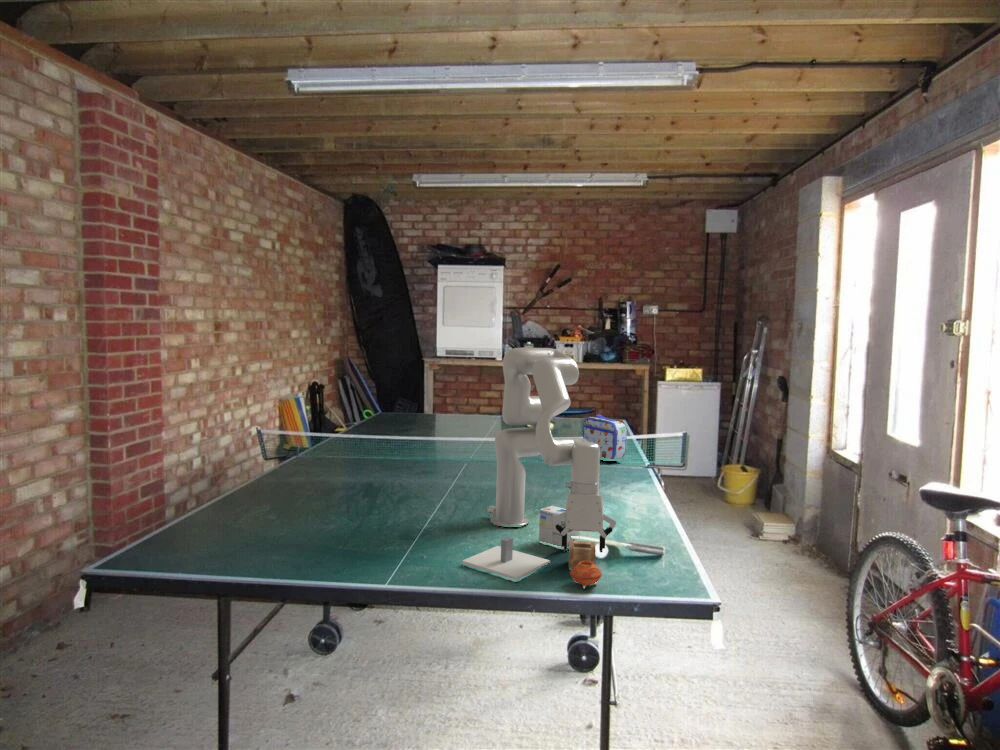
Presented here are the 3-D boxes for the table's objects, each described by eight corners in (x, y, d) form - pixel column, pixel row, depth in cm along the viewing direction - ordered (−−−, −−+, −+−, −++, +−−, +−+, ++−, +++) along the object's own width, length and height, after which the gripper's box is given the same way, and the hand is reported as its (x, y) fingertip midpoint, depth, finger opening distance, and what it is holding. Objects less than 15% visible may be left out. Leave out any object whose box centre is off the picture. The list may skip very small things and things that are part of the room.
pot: (604, 592, 160) (598, 566, 160) (572, 596, 162) (567, 570, 161) (604, 579, 168) (599, 554, 168) (574, 583, 170) (569, 558, 169)
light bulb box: (579, 547, 194) (581, 511, 193) (566, 552, 189) (567, 516, 188) (551, 538, 201) (552, 504, 200) (537, 543, 196) (538, 508, 195)
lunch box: (577, 455, 335) (578, 412, 333) (592, 453, 340) (594, 412, 339) (611, 465, 311) (613, 420, 310) (628, 464, 317) (630, 419, 315)
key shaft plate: (462, 565, 176) (462, 538, 175) (497, 550, 189) (498, 525, 188) (516, 583, 165) (517, 554, 165) (549, 565, 178) (550, 539, 177)
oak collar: (568, 570, 175) (569, 549, 174) (568, 561, 182) (569, 540, 181) (594, 572, 174) (595, 550, 173) (593, 563, 181) (594, 542, 180)
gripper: (552, 489, 173) (550, 552, 174) (618, 492, 171) (616, 556, 172) (553, 483, 181) (551, 543, 182) (616, 486, 179) (614, 547, 180)
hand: (583, 549), depth 177 cm, fingers open, 9 cm apart
